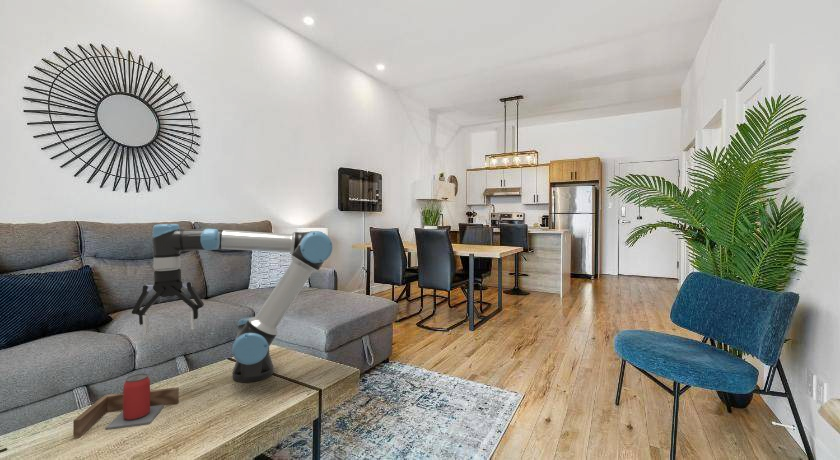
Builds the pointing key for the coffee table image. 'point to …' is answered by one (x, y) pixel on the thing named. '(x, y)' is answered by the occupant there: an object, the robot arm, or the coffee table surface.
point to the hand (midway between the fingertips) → (170, 331)
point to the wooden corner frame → (118, 407)
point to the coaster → (147, 419)
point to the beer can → (136, 397)
